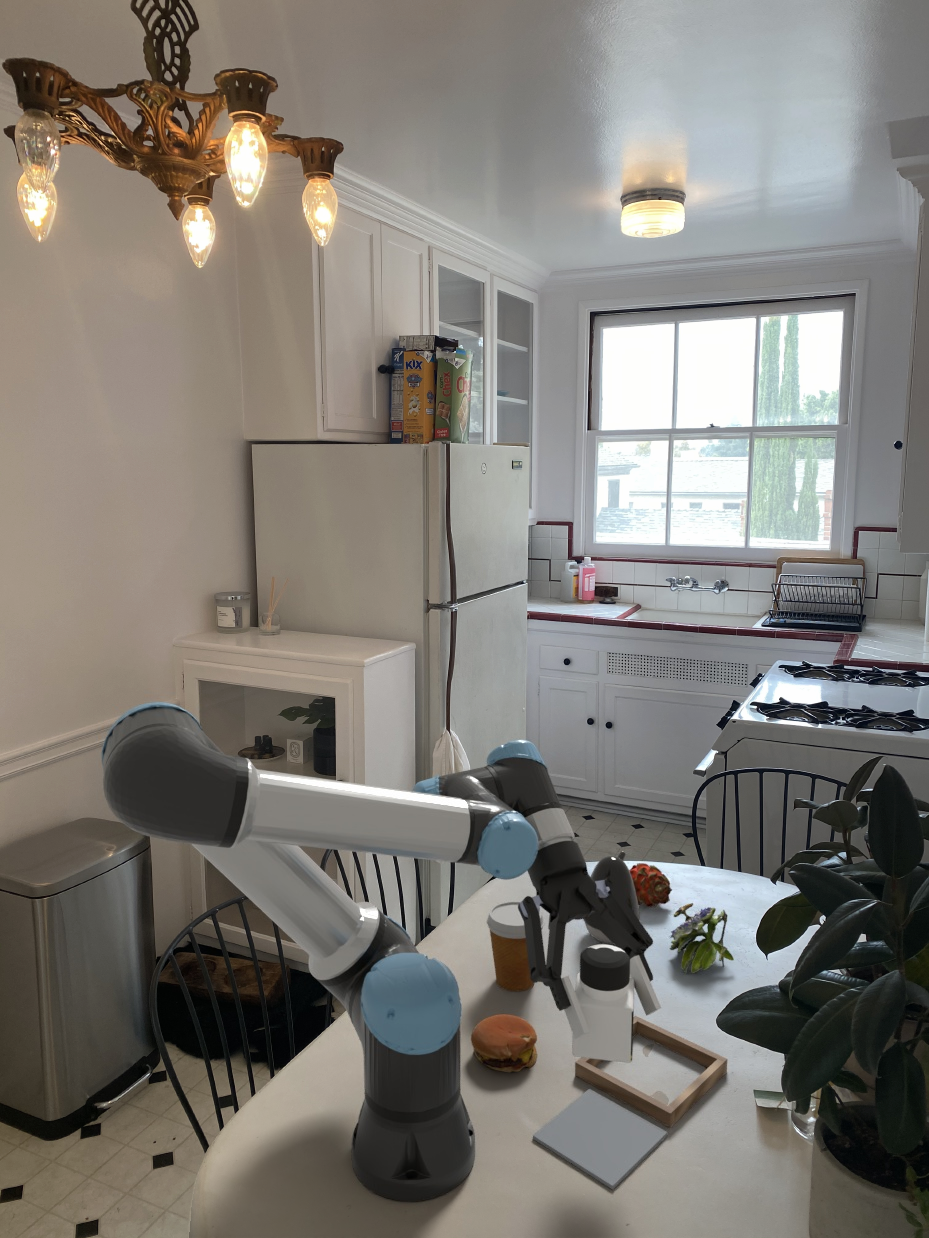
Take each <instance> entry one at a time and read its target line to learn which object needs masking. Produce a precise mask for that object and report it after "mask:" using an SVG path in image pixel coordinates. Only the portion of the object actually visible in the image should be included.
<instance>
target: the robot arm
mask: <svg viewBox="0 0 929 1238" xmlns="http://www.w3.org/2000/svg"><path fill="white" fill-rule="evenodd" d="M101 747H102V748H101V764H102V772H103V773H102V774H103V776H102V777H103V778H102V788H103V795H104V797H105V801H106V803H107V805H108V808H109V809H110V811H111V812H112V814H113V815H114V816H115V817H116V818H117V819H118V821H119V822H120V823H122V825H125V826H126V827H127V828H129V829H130V830H132V831H134V832H136V833H139V834H140V835H143V836H146V837H150V838H155V839H159V840H163V841H170V842H174V843H182V844H190V845H191V846H192V847H193V848H195V849H196V850H197V851H198V852H199V853H200V854H201V855H202V857H204V858H205V859H206V860H207V861H208V862H210V863H211V864H212V865H213V866H214V867H215V868H216V869H217V870H218V871H219V872H220V873H221V874H222V875H223V876H224V877H226V878H227V879H228V881H230V882H231V884H233V885H234V886H235V887H236V888H237V889H238V890H239V891H241V893H243V894H244V896H246V897H247V898H248V899H249V900H250V901H251V902H252V903H253V904H254V905H255V906H256V907H258V908H259V910H260V911H261V912H263V913H264V914H265V915H266V916H267V917H268V918H269V919H270V920H271V921H272V922H273V923H274V924H275V925H277V926H278V927H279V928H280V929H281V930H282V931H283V932H284V933H285V934H286V935H287V936H288V937H289V938H290V939H292V940H293V941H294V942H295V943H296V944H297V945H298V946H299V947H300V948H301V949H302V950H303V951H304V952H306V953H307V954H308V970H309V972H310V974H311V975H312V977H314V979H316V980H317V981H318V982H319V983H320V984H321V985H322V986H323V987H324V988H325V989H326V990H327V991H328V992H329V993H331V995H332V996H334V997H335V998H336V999H337V1000H338V1001H339V1002H340V1004H341V1005H342V1006H343V1007H344V1009H345V1010H346V1013H347V1015H348V1018H349V1019H350V1021H351V1024H352V1026H353V1028H354V1030H355V1032H356V1034H357V1036H358V1040H359V1041H360V1043H361V1048H362V1054H363V1079H364V1080H363V1081H364V1099H363V1101H362V1105H361V1108H360V1111H359V1115H358V1119H357V1120H358V1121H357V1123H356V1125H355V1127H354V1130H353V1134H352V1137H351V1164H352V1165H351V1166H352V1168H353V1171H354V1174H355V1176H356V1177H357V1179H358V1180H359V1181H360V1183H362V1185H363V1186H364V1187H366V1188H367V1189H368V1190H370V1191H371V1192H372V1193H374V1194H376V1195H378V1196H381V1197H383V1198H387V1199H389V1200H394V1201H399V1202H419V1201H425V1200H430V1199H434V1198H437V1197H440V1196H442V1195H444V1194H446V1193H449V1192H450V1191H452V1190H454V1189H455V1188H456V1187H458V1186H459V1185H460V1184H461V1183H462V1182H463V1181H464V1180H465V1179H466V1178H467V1176H468V1175H469V1174H470V1172H471V1170H472V1168H473V1167H474V1164H475V1159H476V1135H475V1129H474V1126H473V1124H472V1120H471V1118H470V1115H469V1112H468V1110H467V1106H466V1104H465V1101H464V1098H463V1096H462V1093H461V1020H462V1019H461V1018H462V1003H461V1001H462V1000H461V997H460V996H461V995H460V988H459V985H458V981H457V978H456V976H455V975H454V973H453V972H452V970H451V969H450V968H449V967H448V966H447V965H446V964H444V962H442V961H441V960H439V959H437V958H435V957H432V958H430V959H429V957H428V955H427V954H423V953H420V952H419V950H418V949H417V948H416V946H415V945H414V943H413V941H412V938H411V937H410V935H409V934H408V933H407V931H406V929H405V928H404V927H403V926H402V925H400V924H399V923H398V922H397V921H395V920H394V919H392V918H391V917H389V916H388V915H385V914H384V913H383V912H382V911H381V910H380V909H379V908H378V907H377V906H376V905H375V904H374V903H371V902H369V901H360V902H355V901H354V900H353V899H352V898H351V897H350V895H348V894H347V893H346V892H345V891H344V890H343V889H342V888H341V887H340V886H339V885H338V884H337V883H336V882H335V881H334V880H333V879H332V878H331V877H330V876H329V875H328V874H327V873H326V872H325V871H324V870H323V869H322V868H321V867H320V866H319V865H318V864H317V863H316V862H315V861H314V860H313V859H312V858H311V856H309V855H308V854H307V853H306V852H305V851H304V850H303V849H302V848H301V847H310V848H316V849H317V848H318V849H325V850H326V849H327V850H338V851H344V852H345V851H346V852H353V853H354V852H355V853H363V854H372V855H381V856H383V855H384V856H391V857H400V858H411V859H420V860H426V861H427V860H428V861H436V862H437V861H438V862H444V863H445V862H448V863H456V864H465V865H471V866H479V867H481V869H482V870H483V871H484V872H485V873H487V874H489V875H491V876H492V877H494V878H497V879H499V880H505V881H508V880H513V879H515V878H518V877H521V876H523V875H524V874H526V872H527V874H528V876H529V878H530V882H531V884H532V886H533V887H534V889H535V893H536V895H535V896H532V897H531V896H530V895H526V896H525V897H524V898H523V899H522V900H520V901H521V902H520V903H519V905H518V910H519V912H520V914H521V916H522V919H523V921H524V928H525V937H526V945H527V954H528V963H529V972H530V979H531V981H532V982H534V984H536V983H539V982H540V983H543V985H544V986H545V987H549V990H550V992H551V996H552V998H553V1001H554V1004H555V1006H556V1008H557V1009H558V1011H559V1012H560V1011H564V1013H565V1016H566V1019H567V1021H568V1024H569V1026H570V1029H571V1032H573V1035H574V1038H575V1039H578V1038H581V1037H582V1036H584V1035H585V1034H587V1033H588V1032H590V1031H589V1028H588V1026H587V1023H586V1020H585V1018H584V1015H583V1012H582V1010H581V1007H580V1004H579V1002H578V999H577V997H576V994H575V988H574V986H573V983H572V980H571V978H570V975H567V976H563V977H562V975H563V974H562V972H563V960H564V950H565V949H564V948H565V936H566V927H567V923H570V922H571V921H573V920H577V921H578V920H579V921H580V920H583V918H585V919H586V920H587V921H588V922H590V923H593V924H594V925H595V926H596V927H597V928H598V929H599V930H600V931H601V932H602V933H603V934H604V935H605V936H606V937H607V938H608V939H609V940H610V941H611V942H612V943H613V944H612V945H613V946H615V947H618V948H620V949H622V950H623V951H625V952H626V953H627V955H628V956H629V958H630V978H633V979H634V991H635V993H636V994H637V997H638V1000H639V1001H640V1004H641V1007H642V1009H643V1011H644V1013H645V1016H649V1015H652V1014H653V1013H655V1012H656V1011H658V1010H660V1009H662V1006H661V1004H660V1001H659V999H658V996H657V994H656V992H655V989H654V987H653V985H652V982H653V981H654V974H653V972H652V971H651V968H650V966H649V963H648V961H647V959H646V957H645V952H646V951H647V950H648V949H649V948H650V947H651V946H653V944H654V940H653V938H652V937H651V935H650V934H649V932H648V931H647V929H646V928H645V927H644V925H643V924H642V922H641V921H639V919H638V918H637V917H636V915H635V914H634V912H633V911H632V910H631V908H630V907H629V905H628V904H627V903H626V901H625V900H624V898H623V897H622V896H621V894H620V893H619V890H618V888H617V885H616V882H615V879H614V878H613V877H611V876H609V877H607V878H606V879H605V880H601V881H594V880H593V879H592V878H591V875H590V874H589V872H588V868H587V866H588V865H587V862H586V860H585V858H584V855H583V853H582V850H581V849H580V846H579V843H578V842H576V841H574V840H575V833H574V830H573V828H572V826H571V824H570V821H569V820H568V817H567V815H566V813H565V810H564V808H563V806H562V804H561V801H560V799H559V796H558V795H557V792H556V789H555V786H554V784H553V782H552V779H551V777H550V774H549V770H548V767H547V765H546V763H545V761H544V759H543V758H542V756H541V753H540V751H539V750H538V747H537V746H536V745H535V744H534V743H533V742H531V741H529V740H526V739H515V740H510V741H508V742H507V743H505V744H500V745H498V746H497V747H496V748H494V749H492V751H491V752H490V753H488V755H487V757H486V765H485V766H482V767H476V768H472V769H467V770H463V771H457V772H453V773H448V774H443V775H439V774H438V775H436V776H434V777H431V778H428V779H424V780H420V781H418V782H416V784H414V786H413V788H412V791H411V790H403V789H398V788H391V787H384V786H377V785H371V784H370V785H369V784H363V783H358V782H357V783H356V782H349V781H343V780H342V781H341V780H336V779H329V778H320V777H314V776H307V775H301V774H293V773H286V772H280V771H279V772H278V771H272V770H265V769H259V768H258V769H257V768H256V767H255V765H254V764H253V763H252V761H251V760H250V759H249V758H248V757H240V756H234V755H230V754H225V753H224V752H223V751H222V750H221V749H220V748H219V746H217V745H216V744H215V743H214V742H213V741H212V739H211V738H210V737H208V736H207V735H206V734H205V732H204V730H203V728H202V726H201V724H200V722H199V721H198V719H197V718H196V717H195V716H194V715H193V714H192V713H191V712H189V711H188V710H186V709H184V708H183V707H181V706H179V705H176V704H173V703H169V702H163V701H162V702H161V701H156V702H147V703H146V702H145V703H143V704H139V705H137V706H135V707H133V708H130V709H129V710H127V711H126V712H125V713H123V714H121V716H119V717H118V718H117V719H116V720H115V721H114V723H113V724H112V725H111V727H110V728H109V731H108V733H107V735H106V736H105V738H104V741H103V745H102V746H101ZM596 892H598V894H599V897H600V898H603V900H604V902H605V904H606V905H607V907H608V908H609V910H610V911H611V913H612V914H613V915H614V917H615V918H616V920H617V921H618V922H617V921H616V920H615V919H614V918H613V917H612V916H611V915H610V914H609V913H608V912H607V911H606V910H605V906H604V905H603V904H602V903H601V902H600V901H599V900H598V899H597V898H596V897H595V894H596ZM541 908H542V909H543V910H544V911H546V912H547V913H548V914H549V917H548V918H549V919H548V925H547V926H548V928H547V929H548V941H547V950H546V951H547V952H546V956H545V947H544V939H543V929H542V930H541V922H540V915H539V911H540V910H541ZM592 909H593V910H594V911H592Z"/></svg>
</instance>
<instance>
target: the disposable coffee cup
mask: <svg viewBox="0 0 929 1238" xmlns="http://www.w3.org/2000/svg"><path fill="white" fill-rule="evenodd" d="M521 901H522V900H509V901H507V900H506V901H502V902H500V903H497V904H494V905H493V906H492V907H491V908H490V909H489V912H488V915H487V916H486V918H485V919H486V925H487V927H488V929H489V933H490V943H491V949H492V957H493V963H494V964H493V965H494V972H495V979H496V980H495V981H496V984H497V986H498V987H500V988H501V989H503V990H505V991H510V992H524V991H527V990H530V989H531V988H532V987H533V986H534V984H535V983H534V982H532V981H531V979H530V972H529V963H528V954H527V945H526V937H525V928H524V921H523V919H522V916H521V914H520V912H519V910H518V905H519V903H520V902H521ZM539 915H540V922H541V930H542V931H543V928H544V926H545V924H546V920H545V917H544V916H543V912H542V910H541V909H540V911H539Z"/></svg>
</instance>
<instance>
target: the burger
mask: <svg viewBox="0 0 929 1238" xmlns="http://www.w3.org/2000/svg"><path fill="white" fill-rule="evenodd" d="M470 1036H471V1038H470V1040H471V1042H470V1043H471V1045H472V1047H473V1052H474V1055H475V1056H476V1058H477V1059H478V1060H479V1061H480V1063H481V1064H482V1065H484V1066H487V1067H488V1068H490V1069H493V1070H495V1071H500V1072H505V1073H512V1072H516V1073H517V1072H520V1071H521V1070H522V1069H524V1068H526V1067H527V1068H531V1067H533V1065H535V1063H536V1062H537V1058H538V1052H537V1048H536V1045H535V1044H536V1043H537V1041H538V1036H537V1032H536V1030H535V1028H534V1027H533V1025H531V1024H530V1023H529V1022H528V1021H526V1020H525V1019H523V1018H522V1017H519V1016H517V1015H513V1014H505V1013H504V1014H503V1013H502V1014H501V1013H500V1014H494V1015H491V1016H488V1017H485V1018H484V1019H482V1020H481V1021H479V1022H478V1023H477V1024H476V1025H475V1027H474V1028H473V1030H472V1033H471V1035H470Z"/></svg>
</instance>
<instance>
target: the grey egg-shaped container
mask: <svg viewBox="0 0 929 1238" xmlns="http://www.w3.org/2000/svg"><path fill="white" fill-rule="evenodd" d="M625 858H626V852H624V851H620V852H619V853H618V854H617V856H616V855H607V856H604V857H602V858H601V859H599V861H598V862H597V864H596V865H595V867H593V871H592V872H591V875H590V877H591V878H592V879H593V880H594V881H601V880H605V879H606V878H607V877H609V876H611V877H613V878H614V879H615V882H616V885H617V888H618V890H619V893H620V894H621V896H622V897H623V898H624V900H625V901H626V903H627V904H628V905H629V907H630V908H631V910H632V911H633V912H634V914H635V915H636V917H637V918H638V919H639V921H640V920H641V918H640V916H641V915H640V914H641V912H640V906H639V904H638V898H637V893H636V889H635V885H634V882H633V878H632V876H631V873H630V871H629V870H630V869H629V867H628V866H627V864H626V863H625V861H624V860H625ZM595 897H596V898H597V899H598V900H599V901H600V902H601V903H602V904H603V905H604V906H605V910H606V911H607V912H608V913H609V914H610V915H611V916H612V917H613V918H614V919H615V920H616V918H615V917H614V915H613V914H612V913H611V911H610V910H609V908H608V907H607V905H606V904H605V902H604V900H603V898H600V897H599V894H598V892H596V894H595ZM592 911H594V910H593V909H592ZM582 920H583V921H584V925H585V927H586V930H587V931H588V933H589V934H590V936H592V937H593V938H594V939H596V940H597V941H599V942H601V943H603V944H608V945H614V944H613V943H612V942H611V941H610V940H609V939H608V938H607V937H606V936H605V935H604V934H603V933H602V932H601V931H600V930H599V929H598V928H597V927H596V926H595V925H594V924H593V923H590V922H588V921H587V920H586V919H585V918H583V919H582ZM616 921H617V920H616ZM617 922H618V921H617ZM640 922H641V921H640Z"/></svg>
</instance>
